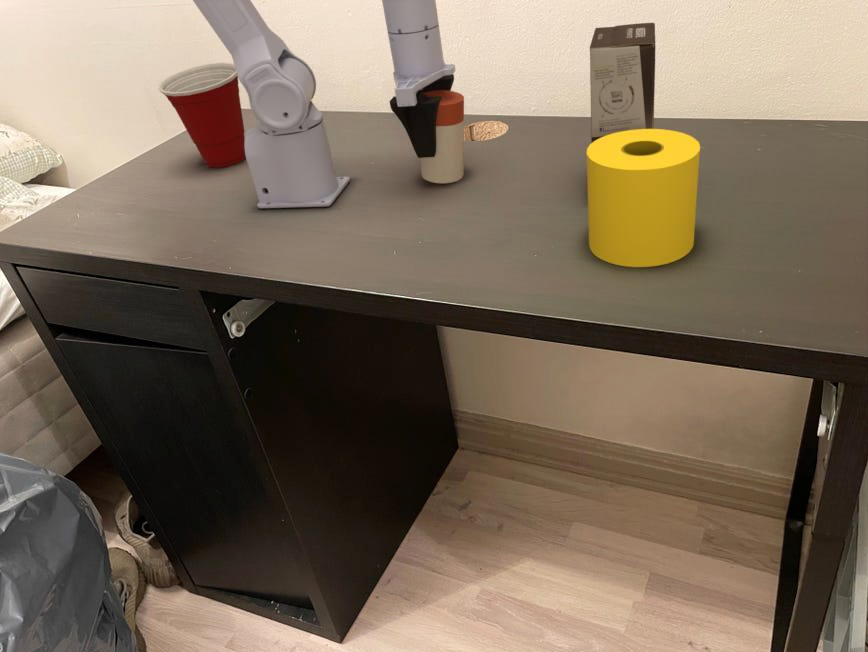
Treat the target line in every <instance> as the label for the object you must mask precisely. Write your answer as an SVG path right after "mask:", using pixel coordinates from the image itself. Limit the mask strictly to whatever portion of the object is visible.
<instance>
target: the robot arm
mask: <svg viewBox="0 0 868 652" xmlns="http://www.w3.org/2000/svg"><path fill="white" fill-rule="evenodd" d="M192 1H193V3H194V4H195V6H196V7H197V9H198V10H199V11H200V13H201V14H202V16H203V17H204V18H205V20H206V22H207V23H208V24H209V26H210V27H211V28H212V30H213V31H214V33H215V34H216V35H217V37H218V38H219V40H220V41H221V43H222V44H223V46H224V47H225V48H226V50H227V51H228V52H229V54H230V55H231V58H232V60H233V61H232V62H233V64H234V65H235V69H236V73H237V76H238V82H239V83H240V84H241V85H242V86H243V88H244V90H245V92H246V93H247V96H248V101H249V107H250V110H251V112H252V114H253V116H254V118H255V119H256V120H257V121H258V122H259V124H256V125H251V127H249V128H248V130H247V131H246V133H245V135H244V137H245V143H244V145H245V155H246V158H245V160H246V162H247V166H248V169H249V172H250V176H251V179H252V182H253V186H254V190H255V193H256V195H257V199H258V203H256V206H257V208H258V209H282V208H287V209H288V208H319V207H330V206H331V205H332V204H333V203H334V202H335V200H336V199H337V197H338V196H339V195H340V194H341V193H342V191H343V190H344V189H345V187H346V186H347V185H348V183H349V182H350V181H351V179H350V176H337V173H336V167H335V164H334V160H333V155H332V150H331V146H330V142H329V139H328V134H327V129H326V126H325V121H324V118H323V113H322V112H321V111H320V110H319V109H318V108H317V107H316V106H315V104H314V103H313V101H312V100H313V99H314V96H315V94H316V90H317V80H316V76H315V73H314V71H313V70H312V68H311V66H310V65H309V64H308V63H307V62H306V61H305V60H304V59H302V58H301V57H299V56H297V55H295V54H294V53H293V51H291V50H290V48H289V47H288V46H287V44H286V43H285V41H284V40H283V39H282V38H281V37H280V36H279V35H277V34H276V33H275V32H274V31H272V29H271V28H270V27H269V26H268V24H267V23H266V21H265V20H264V18H263V17H262V16H261V14H260V13H259V11H258V10H257V8H256V6H255V5H254V3H253V1H252V0H192ZM381 3H382V8H383V13H384V19H385V24H386V31H387V36H388V43H389V47H390V53H391V58H392V64H393V69H394V70H393V72H392V75H393V80H394V83H395V86H396V87H395V88H394V94H395V95H394V96H392V97H391V98H390V100H389V107H390V109H391V111H392V112H393V114H394V115H395V116H396V117H397V118H398V120H399V121H400V123H401V124H402V127H403V128H404V129H405V131H406V134H407V136H408V138H409V140H410V143H411V145H412V146H411V147H412V148H413V150H414V153H415V154H416V156H417V158H418V159H421V158H426V157H435V154H436V119H437V112H438V107H439V103H440V100H441V96H438V97H426V94H425V95H424V93H425V92H429V91H435V90H447V91H452V88H453V84H454V81H455V75H454V73H455V72H456V64H452V63H448V64H446V62H445V59H444V52H443V46H442V45H443V44H442V38H441V31H440V30H441V29H440V24H439V16H438V10H437V9H438V8H437V1H436V0H381Z"/></svg>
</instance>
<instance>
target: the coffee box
mask: <svg viewBox="0 0 868 652" xmlns="http://www.w3.org/2000/svg"><path fill="white" fill-rule="evenodd" d="M589 45H590V46H589V67H590V68H589V77H590V78H589V80H590V81H589V83H590V84H589V85H590V128H591V129H590V131H591V132H590V134H591V135H590V137H591V139H590V140H591V142H590V144H591V143H593V142H594V141H596V140H597V139H599V138H601V137H604V136H607V135H610V134H613V133H617V132H622V131H628V130H636V129H654V127H655V125H654V124H655V123H654V122H655V94H656V93H655V85H656V84H655V83H656V24H655V22H641V23H627V24H620V25H615V26H614V25H613V26H603V27H595V28H594V31H593V35H592V38H591V42H590V44H589Z"/></svg>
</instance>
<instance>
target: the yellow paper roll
mask: <svg viewBox="0 0 868 652" xmlns="http://www.w3.org/2000/svg"><path fill="white" fill-rule="evenodd" d="M588 145H589V146H587V148H586V177H587V178H586V179H587V216H588V247H589V250H590V251H591V252H592V254H593V255H594V256H596V257H597V258H598V259H600V260H601V261H604V262H606V263H609V264H612V265H615V266H621V267H627V268H650V267H651V268H652V267H658V266H663V265H667V264H671V263H673V262H676V261H678V260H681V259H682V258H684V257H685V256H687V255H688V254H689V253H690V252H691V251H692V250H693V247H694V244H695V231H696V229H695V228H696V214H697V198H698V184H699V170H700V169H699V168H700V154H701V153H700V152H701V145H700V142H699V141H698V140H697V139H696V138H695V137H694V136H692V135H690V134H686V133H684V132H681V131H677V130H671V129H662V128H653V129H636V130H628V131H622V132H617V133H613V134H610V135H607V136H604V137H601V138H599V139H597V140H596V141H594V142H593V143H591V142H590V144H588Z"/></svg>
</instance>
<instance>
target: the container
mask: <svg viewBox="0 0 868 652" xmlns="http://www.w3.org/2000/svg"><path fill="white" fill-rule="evenodd" d="M425 94H426V97H438V96H441V100H440V103H439V107H438V112H437V119H436V154H435V157H426V158H420V175H421V178H422V179H423V180H425V181H428V182H430V183H435V184H451V183H455V182H458V181H460V180H461V179H463V177H464V174H465V172H464V171H465V170H464V165H465V164H464V159H465V158H464V156H465V155H464V153H465V142H464V141H465V97H464V95H463V94H462V93H460V92H458V91H454V90H451V91H447V90H435V91H429V92H425V93H424V95H425Z"/></svg>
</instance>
